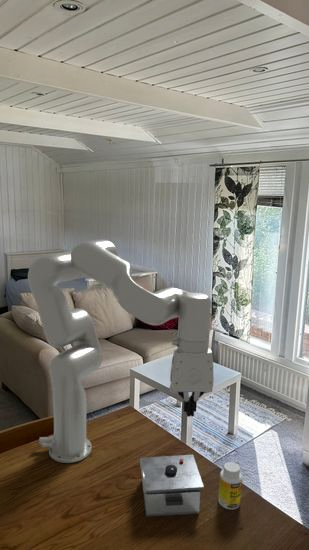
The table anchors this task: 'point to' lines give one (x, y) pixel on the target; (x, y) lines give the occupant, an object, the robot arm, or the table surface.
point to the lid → (170, 474)
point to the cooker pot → (172, 503)
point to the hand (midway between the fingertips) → (189, 413)
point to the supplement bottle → (230, 486)
